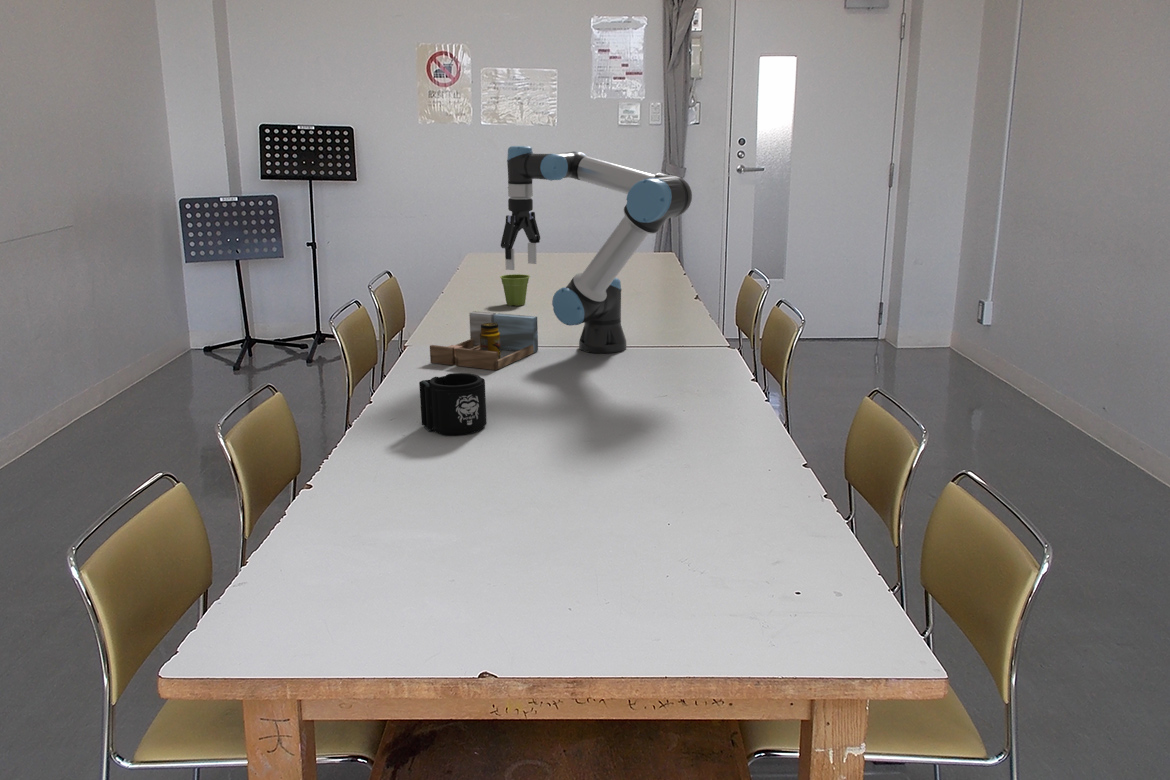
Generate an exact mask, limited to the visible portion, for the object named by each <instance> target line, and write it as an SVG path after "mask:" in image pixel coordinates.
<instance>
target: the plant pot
mask: <svg viewBox="0 0 1170 780" xmlns="http://www.w3.org/2000/svg"><path fill="white" fill-rule="evenodd" d="M499 278H500V279H501V284H502V287H503V292H504V298H505V302H506V305H507V306H509V307H512V306H515V307H519V306H524V305H525V304H526V300H527V291H528V284H529V279H530V278H531V276H530V275H529V274H520V273H519V274H517V273H516V274H504V275H500V276H499Z"/></svg>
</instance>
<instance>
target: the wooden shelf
mask: <svg viewBox="0 0 1170 780" xmlns="http://www.w3.org/2000/svg"><path fill="white" fill-rule="evenodd" d="M494 323H497V324H498V329H499V331H498V332H499V333H500V351H501V350H503V351H514V352H512V353H510V354H508V355H506V356H503V357H501V359H498V352H494V351H484V350H480V348H478V349H471V348H469V349H465V348H455V359H456V364H455V366H458V367H467V368H475V369H482V370H483V369H484V370H485V369H486V370H491V371H498V370H500V369H502V368H504V367H506V366H509V365H510V364H513V363H515V362H517V361H519V360H521V359H523V358H526V357H528V356H530V355H532V354H534V353H538V352H539V333H538V330H539V329H538V316H535V315H523V314H522V315H521V314H513V313H511V314H510V313H500V312H499V313H496V314H495V315H494Z"/></svg>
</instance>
